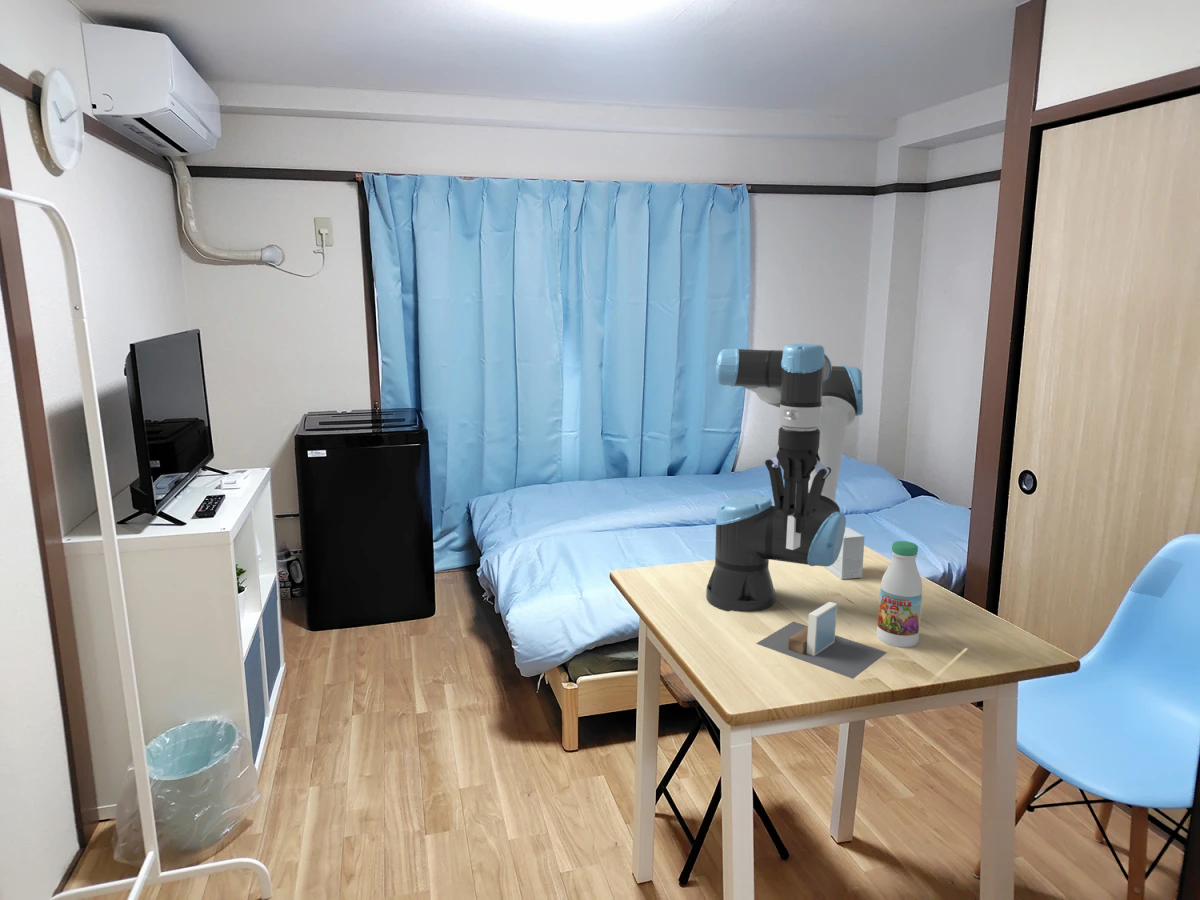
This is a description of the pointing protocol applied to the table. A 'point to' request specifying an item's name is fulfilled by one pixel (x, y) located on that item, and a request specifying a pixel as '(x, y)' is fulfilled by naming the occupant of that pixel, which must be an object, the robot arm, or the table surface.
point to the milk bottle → (900, 598)
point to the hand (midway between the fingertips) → (793, 547)
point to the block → (799, 641)
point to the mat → (827, 652)
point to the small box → (849, 556)
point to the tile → (821, 628)
